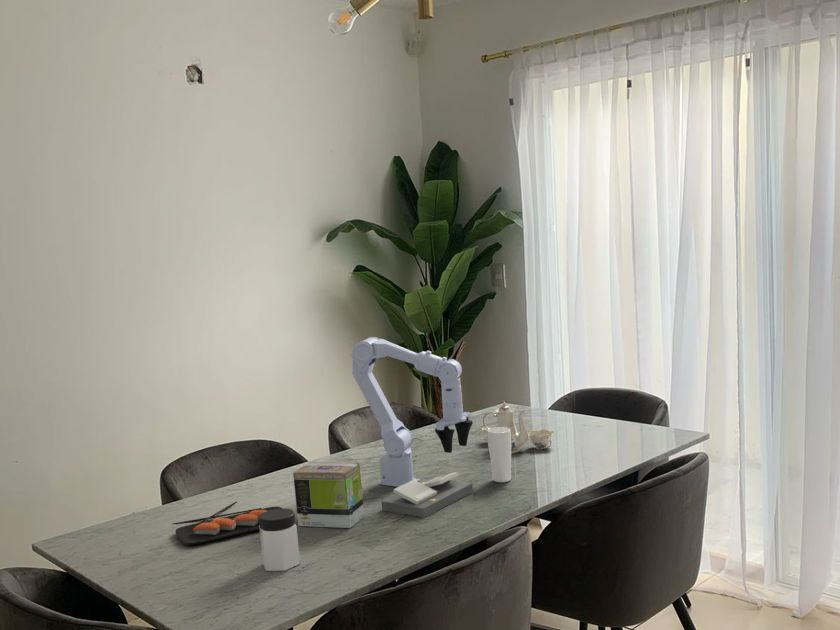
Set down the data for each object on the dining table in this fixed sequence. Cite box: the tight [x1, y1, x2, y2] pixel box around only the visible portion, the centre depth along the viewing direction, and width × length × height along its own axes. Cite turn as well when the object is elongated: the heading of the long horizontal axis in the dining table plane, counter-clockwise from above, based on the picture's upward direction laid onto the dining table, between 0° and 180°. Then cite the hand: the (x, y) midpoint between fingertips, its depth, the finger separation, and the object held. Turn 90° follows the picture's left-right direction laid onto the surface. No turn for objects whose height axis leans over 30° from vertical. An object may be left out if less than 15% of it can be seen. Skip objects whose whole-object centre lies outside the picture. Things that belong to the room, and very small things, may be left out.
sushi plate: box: [172, 501, 284, 546], centre depth 233 cm, size 29×30×4 cm
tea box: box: [292, 462, 365, 529], centre depth 226 cm, size 15×10×15 cm, turn 71°
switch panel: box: [381, 477, 474, 519], centre depth 237 cm, size 14×23×3 cm, turn 144°
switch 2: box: [423, 471, 460, 487], centre depth 241 cm, size 8×9×1 cm
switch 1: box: [393, 480, 437, 505], centre depth 232 cm, size 8×9×1 cm
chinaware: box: [479, 401, 555, 455], centre depth 284 cm, size 28×17×17 cm, turn 58°
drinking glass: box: [487, 427, 512, 483], centre depth 250 cm, size 7×7×15 cm
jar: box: [259, 508, 301, 572], centre depth 199 cm, size 9×8×12 cm
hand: (455, 448), depth 249 cm, fingers open, 7 cm apart
